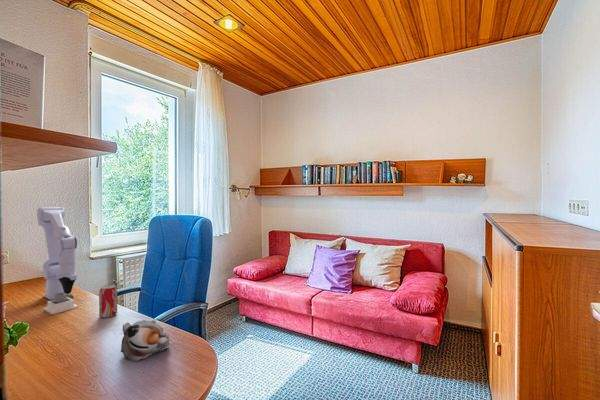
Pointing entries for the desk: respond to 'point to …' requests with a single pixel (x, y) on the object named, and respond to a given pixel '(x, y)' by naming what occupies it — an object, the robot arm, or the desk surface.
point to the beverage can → (107, 301)
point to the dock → (60, 305)
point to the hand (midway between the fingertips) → (67, 293)
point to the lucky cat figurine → (143, 339)
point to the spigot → (60, 298)
